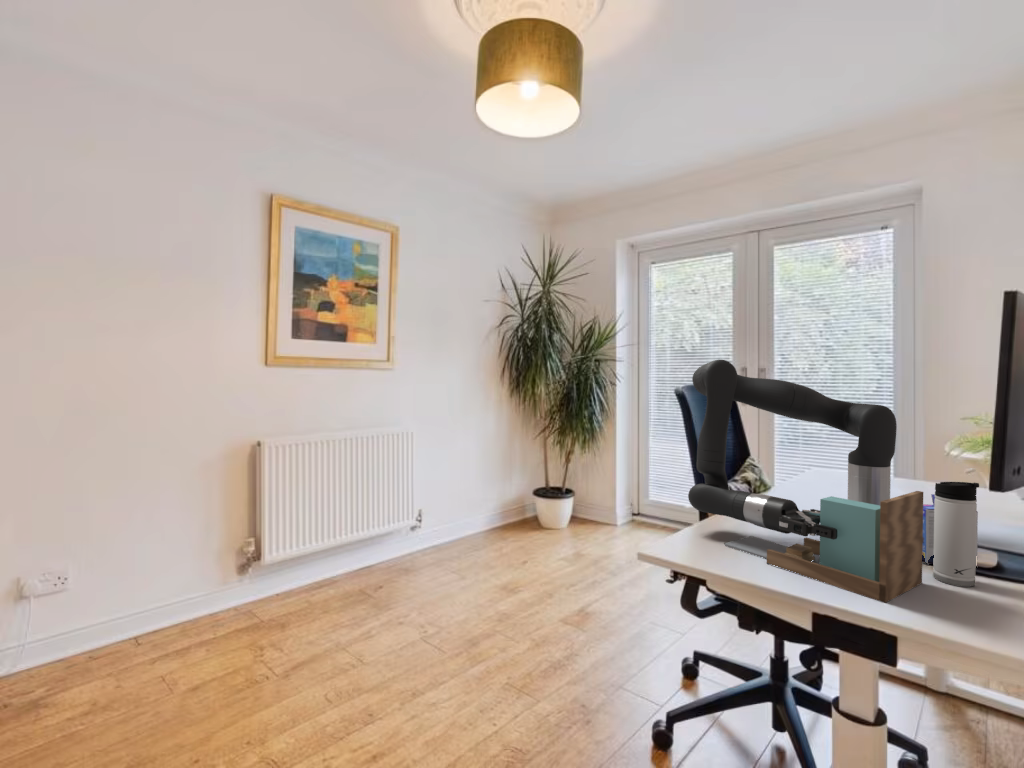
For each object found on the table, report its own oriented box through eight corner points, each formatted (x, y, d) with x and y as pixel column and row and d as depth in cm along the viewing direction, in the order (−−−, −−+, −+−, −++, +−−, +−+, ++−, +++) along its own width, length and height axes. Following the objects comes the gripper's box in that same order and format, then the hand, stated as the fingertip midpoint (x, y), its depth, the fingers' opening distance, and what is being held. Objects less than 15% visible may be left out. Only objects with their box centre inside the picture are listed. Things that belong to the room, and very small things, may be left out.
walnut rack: (806, 550, 117) (807, 473, 116) (921, 583, 98) (923, 491, 98) (766, 563, 108) (767, 480, 108) (885, 602, 89) (886, 502, 89)
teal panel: (830, 566, 107) (831, 496, 107) (885, 582, 98) (886, 506, 98) (819, 570, 104) (820, 499, 104) (874, 587, 96) (875, 510, 96)
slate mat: (751, 537, 125) (751, 535, 125) (800, 552, 115) (800, 550, 115) (724, 545, 120) (724, 543, 120) (773, 561, 109) (773, 559, 109)
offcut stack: (795, 555, 114) (795, 542, 114) (814, 561, 111) (814, 547, 111) (783, 561, 110) (783, 548, 110) (802, 567, 107) (802, 553, 107)
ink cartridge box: (961, 559, 111) (963, 494, 111) (979, 569, 106) (980, 500, 105) (911, 556, 113) (912, 492, 113) (926, 565, 108) (927, 498, 107)
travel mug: (968, 590, 95) (970, 485, 95) (926, 578, 101) (928, 478, 100) (983, 584, 98) (985, 482, 97) (942, 572, 104) (943, 476, 103)
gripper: (752, 500, 112) (829, 517, 98) (787, 492, 119) (864, 507, 106) (751, 533, 112) (829, 555, 98) (787, 523, 119) (863, 543, 106)
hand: (847, 530), depth 102 cm, fingers open, 8 cm apart
